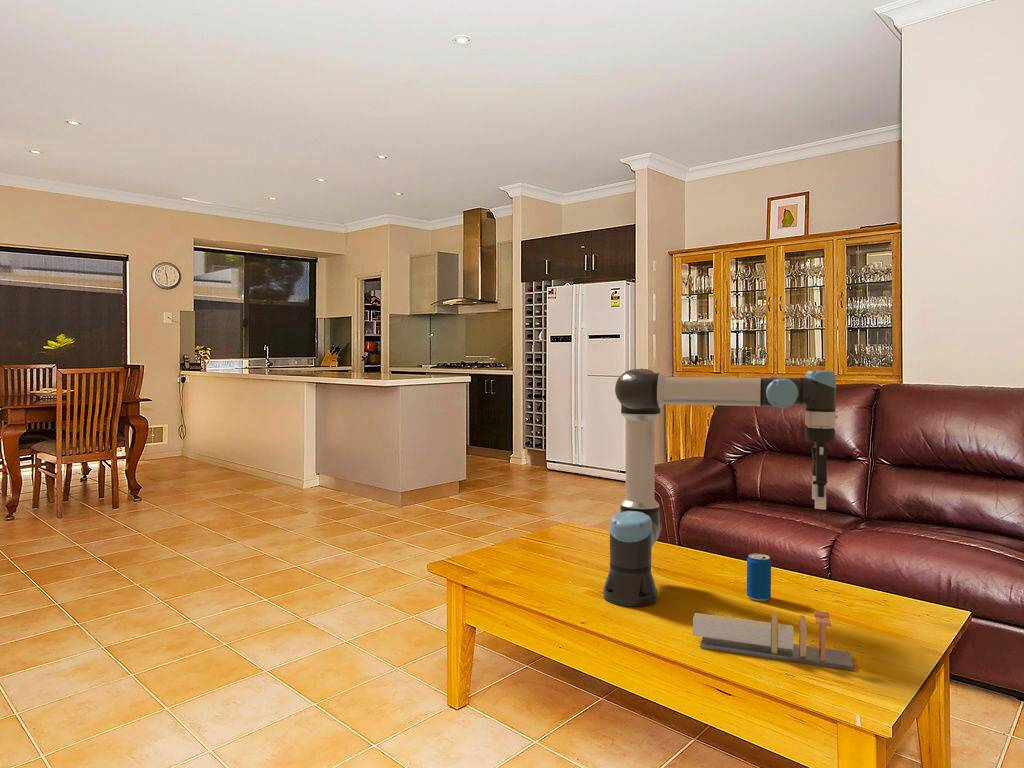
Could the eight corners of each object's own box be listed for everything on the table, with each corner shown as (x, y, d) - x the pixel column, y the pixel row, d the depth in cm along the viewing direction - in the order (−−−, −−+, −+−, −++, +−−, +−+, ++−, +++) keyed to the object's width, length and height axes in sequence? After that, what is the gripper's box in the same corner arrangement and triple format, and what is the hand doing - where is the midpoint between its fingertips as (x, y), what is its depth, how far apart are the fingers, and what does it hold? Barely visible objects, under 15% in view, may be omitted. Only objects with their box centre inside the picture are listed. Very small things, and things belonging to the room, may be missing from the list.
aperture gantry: (815, 660, 149) (816, 621, 149) (813, 647, 156) (814, 610, 156) (830, 662, 148) (831, 623, 148) (827, 649, 155) (828, 612, 155)
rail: (700, 648, 158) (701, 614, 158) (703, 635, 165) (704, 603, 165) (853, 671, 146) (854, 634, 146) (849, 656, 154) (850, 621, 154)
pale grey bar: (692, 635, 160) (693, 618, 160) (694, 629, 164) (694, 612, 164) (793, 649, 152) (793, 631, 152) (792, 642, 156) (793, 625, 156)
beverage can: (772, 603, 188) (773, 560, 188) (748, 601, 189) (748, 558, 189) (768, 595, 194) (769, 553, 194) (745, 593, 196) (745, 552, 195)
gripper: (839, 431, 172) (837, 514, 173) (831, 423, 196) (830, 496, 196) (807, 430, 175) (805, 512, 176) (803, 422, 198) (802, 494, 199)
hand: (818, 504), depth 186 cm, fingers open, 13 cm apart
